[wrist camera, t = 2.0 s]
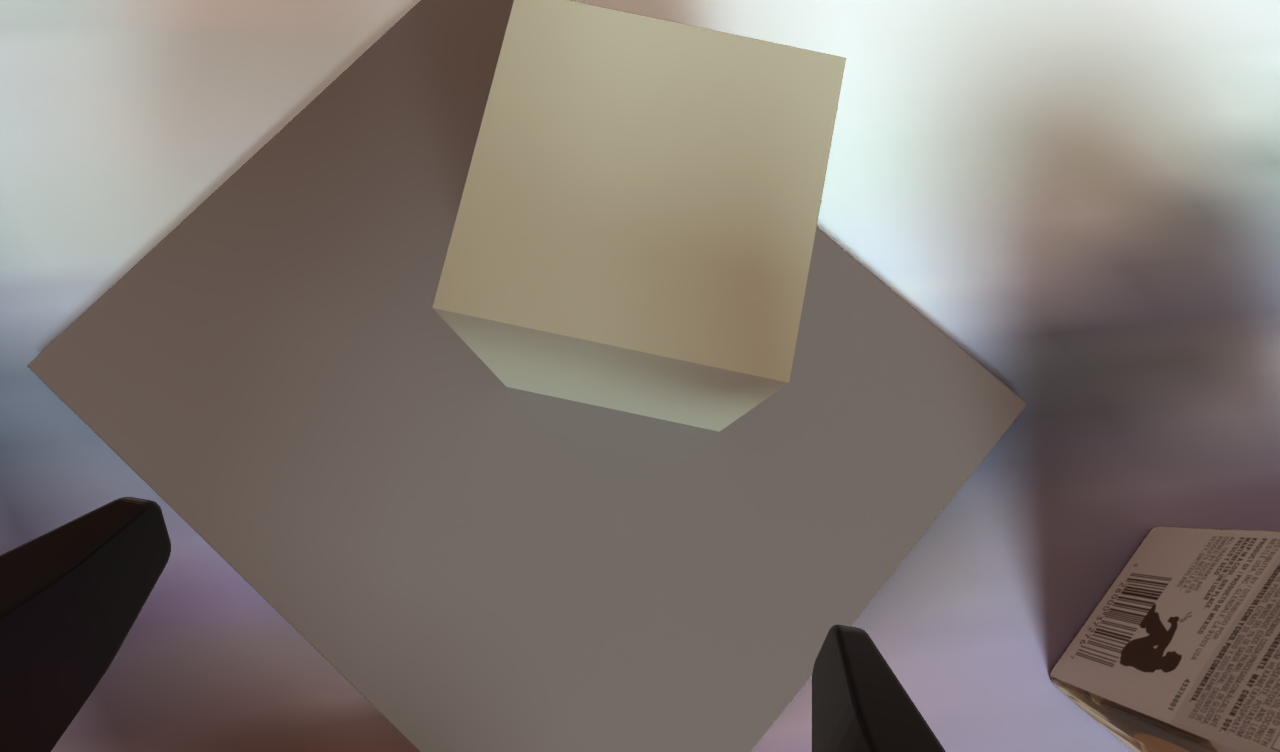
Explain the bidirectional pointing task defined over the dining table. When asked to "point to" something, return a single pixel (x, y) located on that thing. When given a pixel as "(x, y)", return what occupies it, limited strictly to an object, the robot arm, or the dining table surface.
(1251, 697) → the coffee box
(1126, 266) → the dining table surface
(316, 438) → the mat
